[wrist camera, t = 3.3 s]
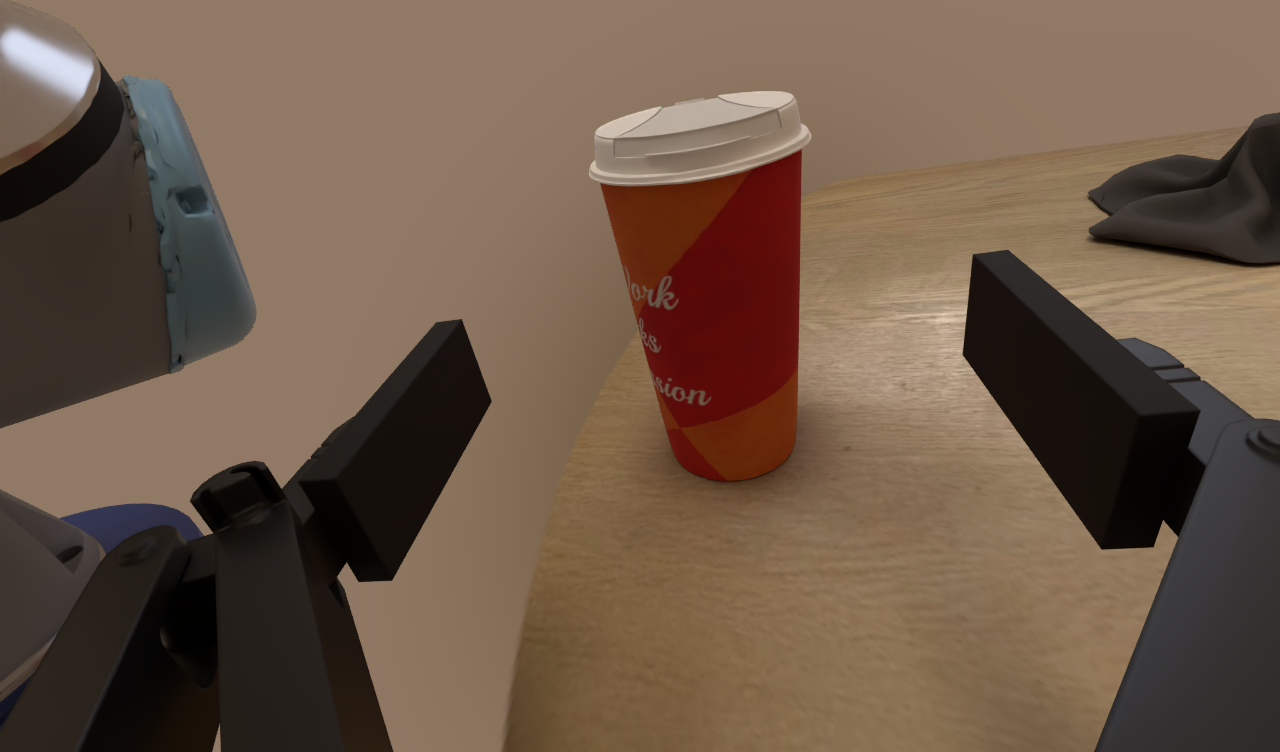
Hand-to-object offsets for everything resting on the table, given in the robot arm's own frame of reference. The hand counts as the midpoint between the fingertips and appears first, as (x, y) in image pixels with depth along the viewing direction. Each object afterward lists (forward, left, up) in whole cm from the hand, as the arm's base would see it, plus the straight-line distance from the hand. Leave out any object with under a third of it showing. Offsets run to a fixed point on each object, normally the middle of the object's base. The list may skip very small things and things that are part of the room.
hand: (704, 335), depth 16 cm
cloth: (+36, +29, -11) cm, 48 cm away
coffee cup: (0, +9, -11) cm, 15 cm away
